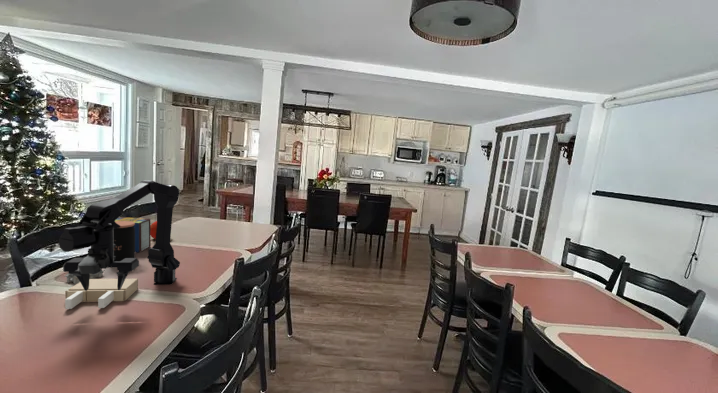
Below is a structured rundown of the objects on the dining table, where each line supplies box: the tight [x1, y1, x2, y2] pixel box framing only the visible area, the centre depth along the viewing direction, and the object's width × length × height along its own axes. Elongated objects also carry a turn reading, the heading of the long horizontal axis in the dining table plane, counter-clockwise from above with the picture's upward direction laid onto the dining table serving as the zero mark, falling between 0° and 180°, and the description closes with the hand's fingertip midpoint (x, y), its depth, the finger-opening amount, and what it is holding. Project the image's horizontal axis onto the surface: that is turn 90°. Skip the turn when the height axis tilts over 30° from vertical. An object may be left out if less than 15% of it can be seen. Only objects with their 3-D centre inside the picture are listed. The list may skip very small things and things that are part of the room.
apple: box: [150, 220, 157, 240], centre depth 184 cm, size 10×10×12 cm
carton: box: [67, 278, 139, 303], centre depth 112 cm, size 17×10×4 cm, turn 103°
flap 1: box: [64, 290, 87, 310], centre depth 103 cm, size 6×7×4 cm
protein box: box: [115, 216, 152, 253], centre depth 162 cm, size 10×15×16 cm
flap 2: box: [97, 290, 127, 309], centre depth 105 cm, size 6×7×4 cm
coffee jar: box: [113, 221, 136, 261], centre depth 144 cm, size 11×11×18 cm
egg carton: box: [64, 269, 106, 285], centre depth 124 cm, size 11×8×4 cm
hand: (103, 289), depth 103 cm, fingers open, 9 cm apart
